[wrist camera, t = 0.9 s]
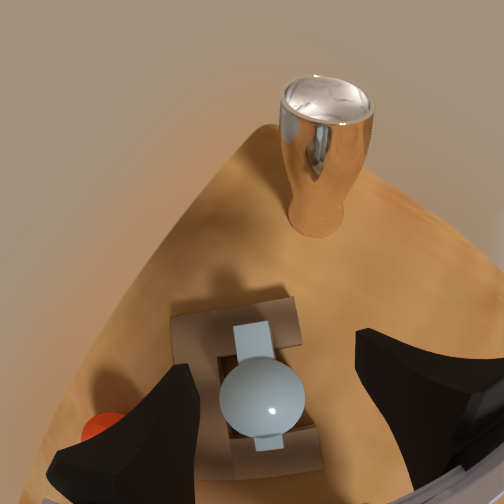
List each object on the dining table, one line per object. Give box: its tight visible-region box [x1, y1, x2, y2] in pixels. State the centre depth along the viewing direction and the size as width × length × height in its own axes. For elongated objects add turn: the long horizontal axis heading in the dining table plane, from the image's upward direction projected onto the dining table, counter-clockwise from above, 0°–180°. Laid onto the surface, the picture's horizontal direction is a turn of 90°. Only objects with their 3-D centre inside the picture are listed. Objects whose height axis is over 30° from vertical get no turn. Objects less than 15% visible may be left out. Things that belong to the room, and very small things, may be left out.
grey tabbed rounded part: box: [219, 321, 305, 451], centre depth 20 cm, size 9×6×7 cm, turn 8°
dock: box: [170, 296, 323, 480], centre depth 22 cm, size 16×11×2 cm
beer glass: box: [279, 74, 375, 238], centre depth 23 cm, size 7×7×15 cm
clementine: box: [81, 412, 126, 442], centre depth 18 cm, size 8×7×7 cm
